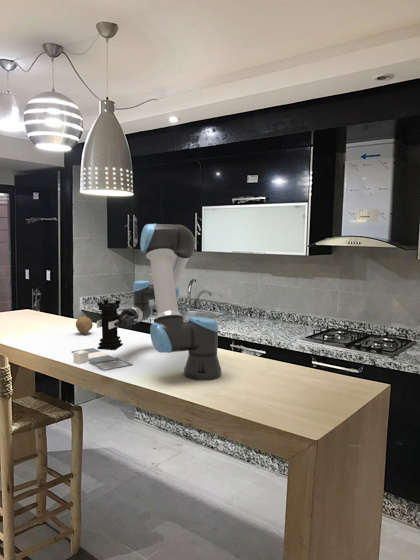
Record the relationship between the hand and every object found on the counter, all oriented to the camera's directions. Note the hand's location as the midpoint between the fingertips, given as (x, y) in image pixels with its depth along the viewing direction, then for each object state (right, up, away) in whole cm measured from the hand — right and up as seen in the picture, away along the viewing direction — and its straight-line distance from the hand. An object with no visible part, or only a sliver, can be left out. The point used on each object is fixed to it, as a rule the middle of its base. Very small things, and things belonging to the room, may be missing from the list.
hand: (103, 325), depth 188 cm
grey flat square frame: (+2, -18, +6) cm, 19 cm away
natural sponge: (-25, -11, +62) cm, 68 cm away
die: (-12, -17, +9) cm, 23 cm away
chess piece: (+2, -10, +6) cm, 12 cm away
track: (-9, -16, +18) cm, 26 cm away
